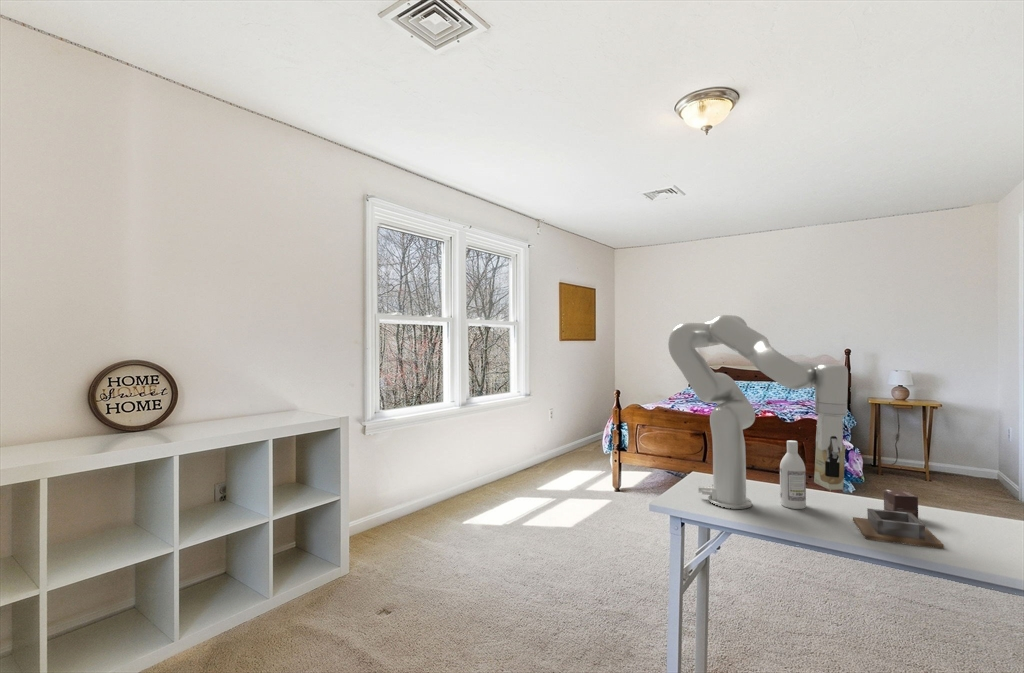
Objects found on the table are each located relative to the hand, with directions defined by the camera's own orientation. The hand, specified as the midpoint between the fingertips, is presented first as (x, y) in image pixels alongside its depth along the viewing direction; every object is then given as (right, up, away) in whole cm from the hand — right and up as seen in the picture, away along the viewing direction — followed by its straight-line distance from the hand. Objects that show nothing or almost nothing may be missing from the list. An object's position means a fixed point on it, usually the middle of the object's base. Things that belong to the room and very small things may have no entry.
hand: (829, 472), depth 138 cm
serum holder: (+14, -15, -6) cm, 21 cm away
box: (+24, -15, +5) cm, 28 cm away
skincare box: (0, -4, 0) cm, 4 cm away
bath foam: (-1, -15, +16) cm, 22 cm away
